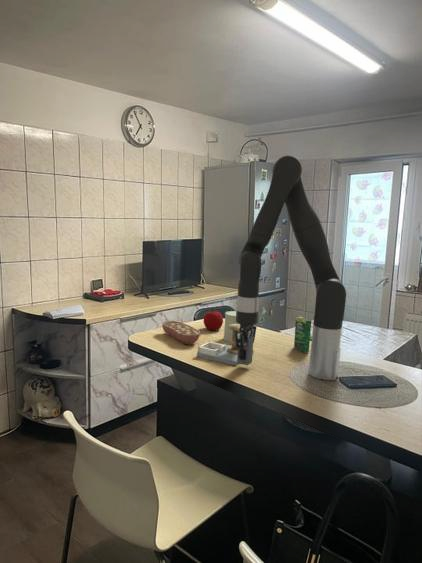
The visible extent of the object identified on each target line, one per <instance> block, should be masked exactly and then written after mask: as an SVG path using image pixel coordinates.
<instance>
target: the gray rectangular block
mask: <svg viewBox="0 0 422 563" xmlns="http://www.w3.org/2000/svg"><path fill="white" fill-rule="evenodd" d="M244 340H246V339H244ZM253 350H254V343H253V337H251V336H250V337H249V339H248V343H247V347H246V359H245V360H240V359H239V348H238V353H237V363H239V364H238V365H245V366H249V365H250V364H252V362H253V355H254V352H253ZM252 354H253V355H252Z"/></svg>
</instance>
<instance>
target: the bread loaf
mask: <svg viewBox="0 0 422 563" xmlns="http://www.w3.org/2000/svg"><path fill="white" fill-rule="evenodd" d="M161 326H162V329H163V331H164V333H165V334H167V335H168V336H171V337H173V338H175V339H177V340H179V341H180V342H181V343H183V344H184V345H193V344H195V343H196V342H197V341H198V340H199V338H200V336H201V332H200V330H198V329H196V328H195V327H194V326H191V325H189V324H187V323H183V322H181V321H172V320H171V321H170V320H169V321H163V322H162V323H161Z"/></svg>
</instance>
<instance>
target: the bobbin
mask: <svg viewBox="0 0 422 563" xmlns="http://www.w3.org/2000/svg"><path fill="white" fill-rule="evenodd" d="M239 328H240V324H231V325H229V329H231V330H233V331H232V343H231V346H230V347H228V348H227V351H228V352H230V353H234V354H237V353H238V348H237V347H236V337H235V334H236V333H239Z"/></svg>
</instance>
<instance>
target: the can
mask: <svg viewBox="0 0 422 563" xmlns="http://www.w3.org/2000/svg"><path fill="white" fill-rule="evenodd" d="M224 316H225V317H224V331H223V338H222V339H223V341H225V342H228V343H231V344H232V331H233V330H231V329H229V325H231V324H239V323H237V322H236V310H235V311H234V310H233V311H232V310H230V311H225V312H224Z"/></svg>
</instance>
